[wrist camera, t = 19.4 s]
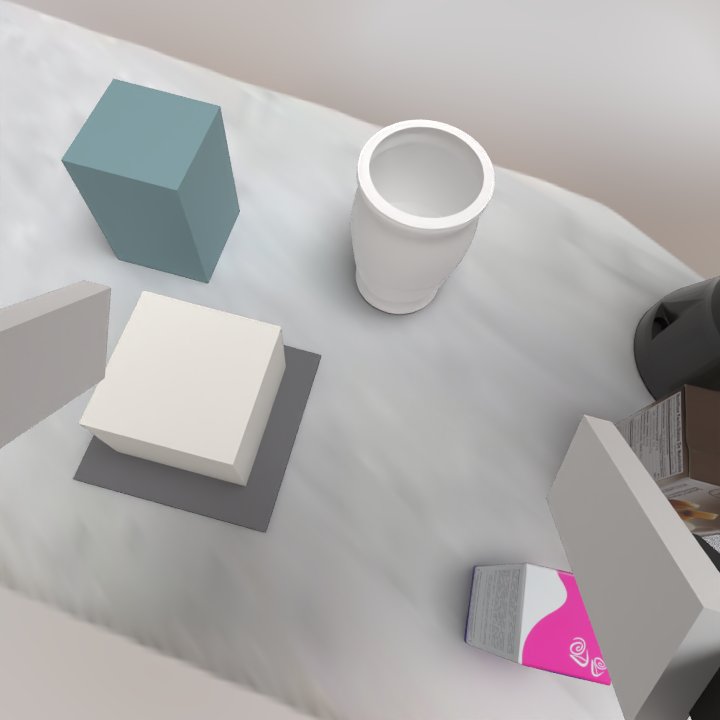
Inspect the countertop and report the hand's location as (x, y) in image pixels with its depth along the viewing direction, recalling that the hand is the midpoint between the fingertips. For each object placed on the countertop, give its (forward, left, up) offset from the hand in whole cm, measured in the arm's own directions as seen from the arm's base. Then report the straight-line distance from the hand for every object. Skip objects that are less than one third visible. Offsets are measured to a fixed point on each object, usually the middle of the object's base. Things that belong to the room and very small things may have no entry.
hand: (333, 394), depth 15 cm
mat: (+6, -12, -32) cm, 34 cm away
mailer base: (+4, -31, -32) cm, 45 cm away
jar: (-15, -20, -32) cm, 40 cm away
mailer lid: (+6, -13, -31) cm, 34 cm away
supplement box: (-12, +11, -32) cm, 36 cm away
